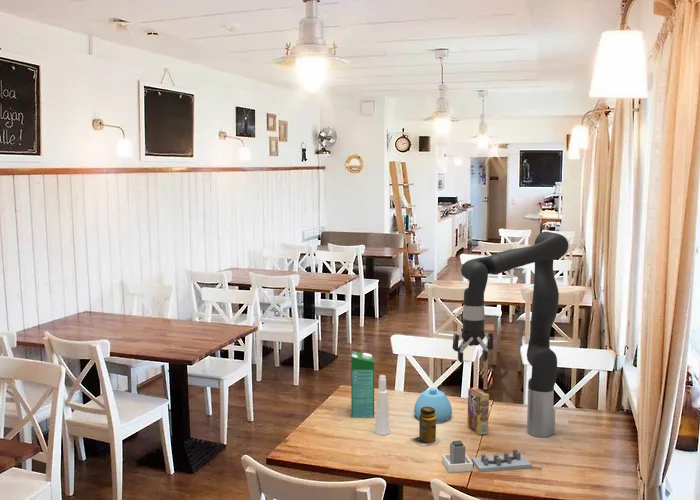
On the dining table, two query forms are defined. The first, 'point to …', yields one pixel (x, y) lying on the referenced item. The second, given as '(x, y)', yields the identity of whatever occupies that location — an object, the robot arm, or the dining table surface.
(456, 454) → the block
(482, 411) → the candy box
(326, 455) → the dining table surface
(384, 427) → the cosmetic bottle
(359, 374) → the milk carton
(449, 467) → the white square tray
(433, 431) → the condiment
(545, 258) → the robot arm
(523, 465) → the board
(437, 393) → the sugar bowl
